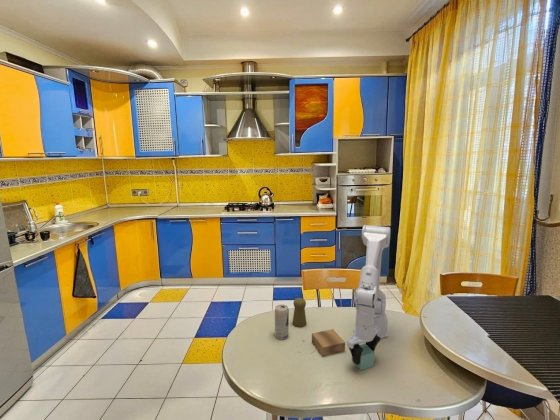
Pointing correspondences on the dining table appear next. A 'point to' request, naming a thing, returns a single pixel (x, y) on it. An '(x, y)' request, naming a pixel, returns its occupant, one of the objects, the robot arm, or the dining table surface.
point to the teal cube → (366, 358)
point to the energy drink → (281, 322)
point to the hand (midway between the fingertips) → (362, 359)
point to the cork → (299, 313)
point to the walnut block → (328, 342)
